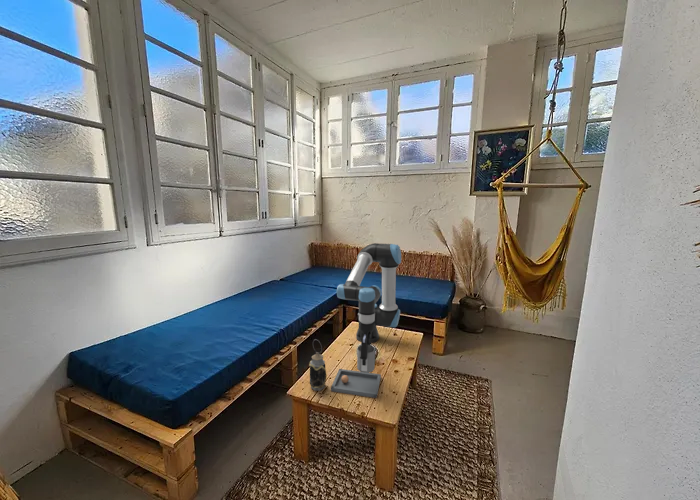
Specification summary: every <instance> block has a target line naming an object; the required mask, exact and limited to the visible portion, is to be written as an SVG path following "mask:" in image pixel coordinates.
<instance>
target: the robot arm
mask: <svg viewBox="0 0 700 500" xmlns="http://www.w3.org/2000/svg"><path fill="white" fill-rule="evenodd" d="M356 257H357V258H356V259H357V260H356V262H355V264H354V266H353V268H352V269H351V271H350V272H349V273H350V274H349V275H348V277H347V279H346V281H345V283H340V284H338V285H337V288H336V296H337V298H338V299H341V300H346V301H356V302H358V313H357V316H358V327H357V332H356V337H355V338H356V340H357V341H359V342H361V343H360V345H361V357H360V358H361V371H367V350H368V345H371V346H373V345H372V343H376V342H378V341H379V339H380V334H379V331H378V328H377V326H382V327H388V328H396V327H398V324H399V320H400V316H401V309H399V307H398V305H397V304H396V293H397V292H396V289H397V288H396V287H397V286H396V285H397V284H396V283H397V281H396V280H397V279H396V278H397V268H398V267H399V265H400V264H402V251H401V247H400V246H399V244H395V243H378V242H375V243H371V244H368V245H366V246H364V247H363V248H362V249H361V250H360V251H359V252H358V254H357V256H356ZM372 263H379V267H380V268H381V288H380V287H379V286H378V285H375V284H374V285H370V286H361V283H362V281H363V279H364V277H365V275H366V273H367V271H368V268H369V266H371V265H372ZM380 299H381V303H380V304H379V306H378V304H377V302H378V301H379V300H380Z"/></svg>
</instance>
